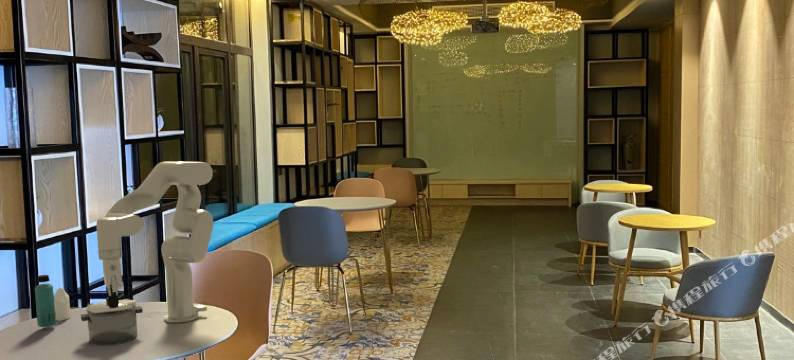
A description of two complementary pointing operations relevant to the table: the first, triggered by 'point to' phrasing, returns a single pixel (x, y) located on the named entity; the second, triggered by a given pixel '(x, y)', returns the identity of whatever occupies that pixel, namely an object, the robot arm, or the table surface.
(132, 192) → the robot arm
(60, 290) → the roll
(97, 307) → the cooker lid
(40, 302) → the beverage bottle
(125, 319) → the cooker pot
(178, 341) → the table surface
